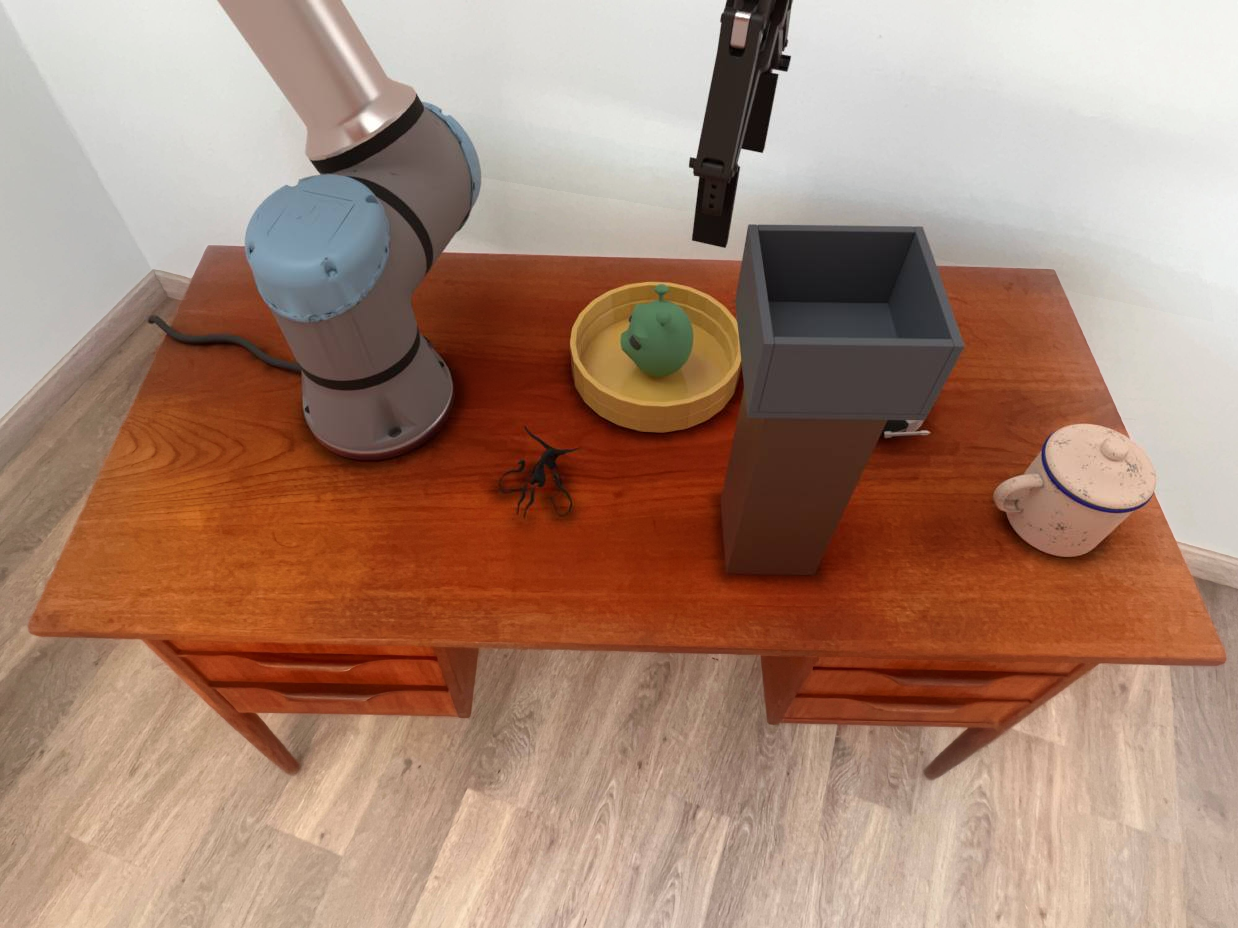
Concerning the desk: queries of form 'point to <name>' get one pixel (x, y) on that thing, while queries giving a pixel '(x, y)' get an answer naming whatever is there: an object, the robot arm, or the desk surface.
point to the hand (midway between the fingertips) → (730, 192)
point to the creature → (541, 472)
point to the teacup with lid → (1077, 489)
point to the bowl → (646, 398)
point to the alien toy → (658, 336)
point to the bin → (825, 378)
